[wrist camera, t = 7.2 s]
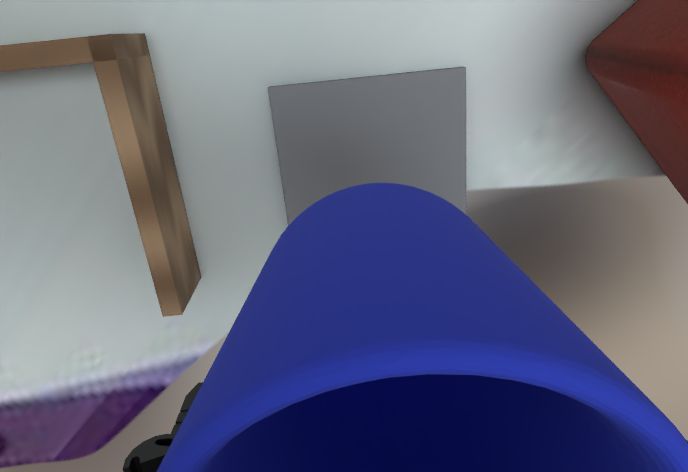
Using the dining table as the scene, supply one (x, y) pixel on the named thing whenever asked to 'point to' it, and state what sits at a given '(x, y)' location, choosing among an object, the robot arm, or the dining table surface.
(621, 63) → the plant pot
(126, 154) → the wooden u-shaped frame
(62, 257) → the dining table surface
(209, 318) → the dining table surface
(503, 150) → the dining table surface
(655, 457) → the mug
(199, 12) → the dining table surface
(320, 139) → the mat
